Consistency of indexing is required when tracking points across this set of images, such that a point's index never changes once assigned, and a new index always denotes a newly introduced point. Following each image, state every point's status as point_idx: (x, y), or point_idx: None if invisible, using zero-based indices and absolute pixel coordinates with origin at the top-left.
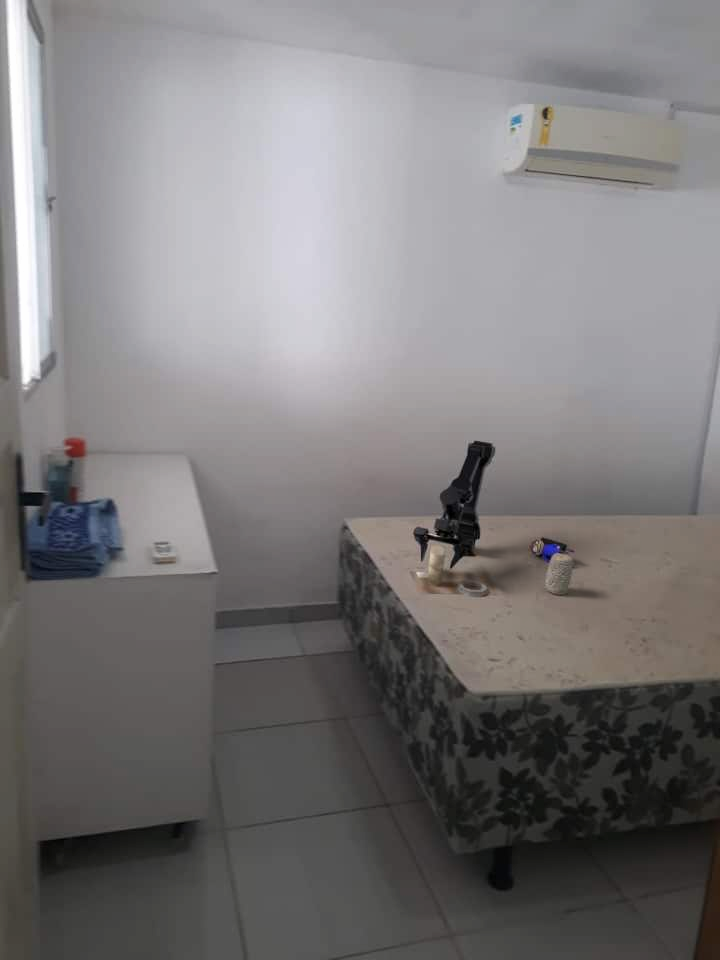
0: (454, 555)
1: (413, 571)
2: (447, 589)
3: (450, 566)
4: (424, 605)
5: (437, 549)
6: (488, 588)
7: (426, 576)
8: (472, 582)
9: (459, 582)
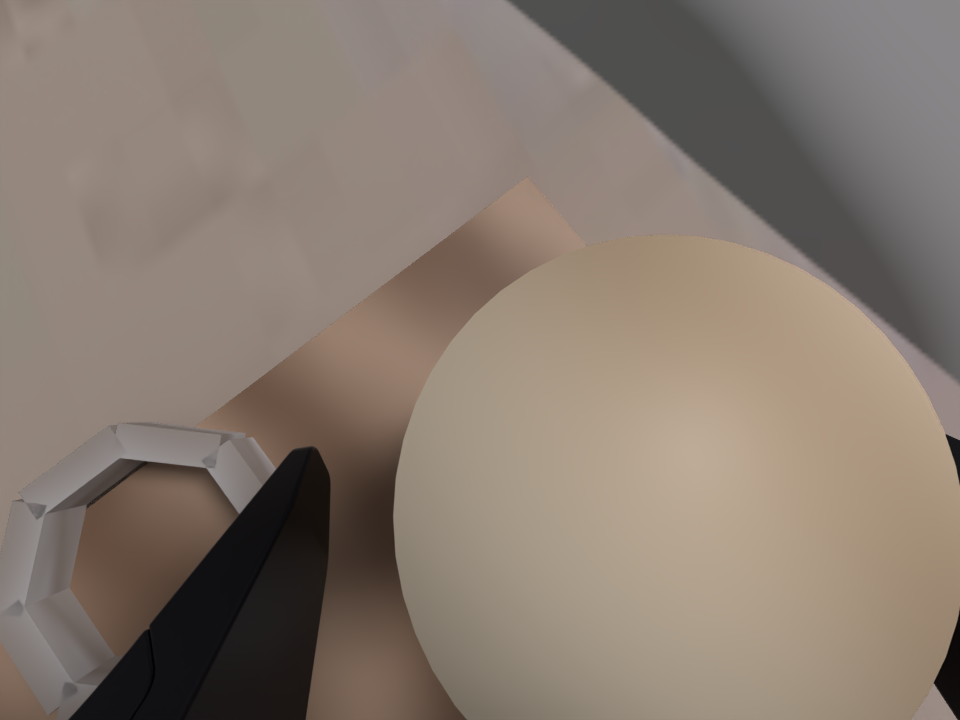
0: (197, 662)
1: None
2: (371, 410)
3: (301, 451)
4: (425, 98)
5: (604, 282)
6: (52, 718)
7: None
8: None
9: None
